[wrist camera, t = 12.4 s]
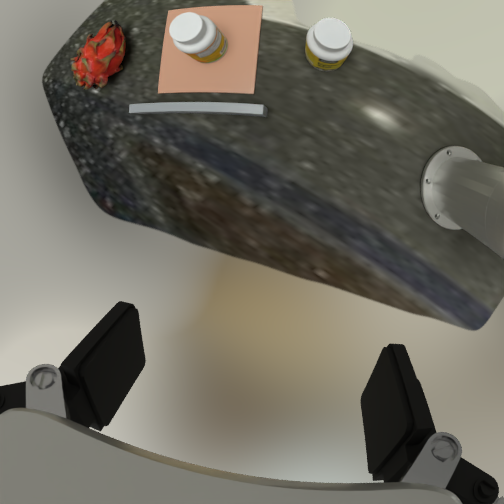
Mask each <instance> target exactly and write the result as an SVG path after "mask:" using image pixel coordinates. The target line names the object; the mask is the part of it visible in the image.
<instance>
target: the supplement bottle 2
mask: <svg viewBox="0 0 504 504" xmlns="http://www.w3.org/2000/svg"><path fill="white" fill-rule="evenodd" d="M352 47H353V39H352V36H351V31H350V29H349V27H348V26H347V25H346V24H345V23H344V22H342V21H341V20H339V19H336V18H324V19H322V20H320V21H318V22H317V23H315V24H314V25H313V26H311V28H310V29H309V31H308V33H307V37H306V47H305V55H306V58H307V60H308V62H309V63H310V64H311V65H312V66H313V67H314V68H316V69H318V70H321V71H333V70H336V69H338V68H339V67H340V66H341V65H342V64H343V62H344V61H345V60H346V58H347V57H348V55H349V54H350V52H351V50H352Z"/></svg>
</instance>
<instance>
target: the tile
mask: <svg viewBox="0 0 504 504" xmlns="http://www.w3.org/2000/svg"><path fill="white" fill-rule="evenodd" d="M262 10H263V6H256V5H234V6H210V7H196V8H186V9H177V10H169V11H168V17H167V23H166V29H165V36H164V43H163V51H162V59H161V67H160V76H159V86H158V93H159V94H162V93H241V94H254V91H255V80H256V70H257V59H258V49H259V39H260V29H261V19H262ZM186 12H193V13H196V14H198V15H202V16H205V17H208V18H209V19H210V20H212V21H213V23H214V24H215V25H216V26H217V27H218V28H219V30H220V31H221V32H222V33H223V34H224V36H225V37H226V39H227V42H228V48H227V51H226V53H225V54H224V56H223V57H222V58H221V59H219V60H218V61H216V62H213V63H201V62H198V61H196V60H195V59H193V58H191V57H190V56H188V55H187V54H185V53H183V52H182V51H180V50H179V49H178V48H177V47H176V46H175V44H174V42H173V38H172V37H171V35H170V33H169V27H170V24H171V22H172V21H173V20H174V19H175V18H176V17H177V16H178V15H180V14H182V13H186Z"/></svg>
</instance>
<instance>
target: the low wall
mask: <svg viewBox="0 0 504 504" xmlns="http://www.w3.org/2000/svg"><path fill="white" fill-rule="evenodd" d="M267 111H268V108H266V107H265V106H264V105H258V104H243V103H221V102H166V103H144V104H130V107H129V113H139V114H160V113H205V114H231V115H248V116H261V117H267Z"/></svg>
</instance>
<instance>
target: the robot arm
mask: <svg viewBox="0 0 504 504" xmlns="http://www.w3.org/2000/svg"><path fill="white" fill-rule="evenodd" d="M447 152H448V154H447ZM426 179H427V181H426ZM421 198H422V201H423V205H424V207H425V209H426V212H427V213H428V214H429V216H430V217H431V218H432V219H433V220H434V221H435V222H436V223H437V224H439V225H440V226H442V227H444V228H446V229H451V230H459V229H464V230H465V231H467V232H468V233H470V234H471V235H472V236H474V237H475V238H477V239H478V240H479V241H481V242H482V243H483V244H485V245H486V246H487V247H489V248H490V249H491V250H493V251H494V252H495V253H496V254H498V255H499V256H500V257H502V258H503V259H504V167H500V166H496V165H492V164H488V163H484V162H482V161H481V159H480V158H479V157H478V156H477V155H476V154H475V153H474V152H472V151H471V150H469V149H467V148H465V147H460V146H448V147H445V148H442V149H440V150H439V151H437V152H436V153H435V154H434V155H433V156H432V157H431V158H430V159H429V161H428V162H427V164H426V166H425V168H424V171H423V174H422V178H421ZM435 215H436V216H435ZM144 366H145V354H144V347H143V341H142V335H141V328H140V321H139V313H138V310H137V309H136V308H135V306H134V305H133V304H130V303H126V302H122V301H120V302H118V303H117V304H116V305H115V306H114V307H113V308H112V309H111V310H110V311H109V312H108V313H107V314H106V315H105V316H104V317H103V318H102V320H101V321H100V322H99V323H98V324H97V325H96V326H95V327H94V328H93V329H92V330H91V331H90V332H89V334H88V335H87V336H86V337H85V338H84V339H83V340H82V341H81V342H80V343H79V344H78V345H77V346H76V347H75V349H74V350H73V351H72V352H71V353H70V354H69V355H68V356H67V357H66V359H65V360H64V361H63V362H62V363H61V366H60V367H59V368H57V367H55V366H54V365H50V364H42V365H38V366H36V367H34V368H33V369H31V370H30V371H29V373H28V375H27V377H26V381H25V382H20V383H15V384H10V385H4V386H0V504H504V498H503V497H501V498H499V497H498V493H499V487H498V484H497V482H496V480H495V479H494V478H493V477H492V476H490V475H489V474H487V473H485V472H483V471H482V470H481V469H479V468H477V467H476V466H474V465H472V464H471V463H469V462H468V461H466V460H465V459H463V458H461V454H462V447H461V444H460V442H459V441H458V439H457V438H456V437H455V436H453V435H451V434H449V433H446V432H438V433H436V430H435V426H434V423H433V420H432V417H431V413H430V410H429V407H428V404H427V401H426V398H425V395H424V392H423V389H422V387H421V384H420V382H419V380H418V379H417V378H416V375H415V372H414V370H413V366H412V364H411V361H410V358H409V356H408V353H407V350H406V348H405V346H404V345H403V344H389V345H388V346H387V347H384V348H383V349H382V352H381V354H380V356H379V359H378V361H377V364H376V366H375V368H374V370H373V372H372V374H371V377H370V379H369V381H368V383H367V385H366V387H365V389H364V391H363V393H362V396H361V409H362V417H363V425H364V433H365V441H366V452H367V462H368V471H369V473H371V474H372V475H373V481H377V480H384V483H316V482H300V481H288V480H278V479H269V478H262V477H255V476H248V475H243V474H237V473H231V472H226V471H221V470H216V469H211V468H207V467H203V466H199V465H195V464H191V463H187V462H183V461H179V460H176V459H172V458H169V457H166V456H162V455H159V454H156V453H153V452H149V451H147V450H143V449H141V448H138V447H135V446H132V445H129V444H127V443H124V442H121V441H119V440H116V439H114V438H111V437H108V436H106V435H103V434H101V433H99V432H96V431H94V430H92V429H89V427H92V428H94V429H96V430H99V431H101V430H102V429H103V427H104V426H107V425H109V423H110V422H111V420H112V418H113V417H114V415H115V414H116V412H117V410H118V409H119V407H120V405H121V404H122V402H123V400H124V399H125V397H126V395H127V394H128V392H129V391H130V389H131V387H132V386H133V384H134V382H135V380H136V379H137V378H138V376H139V374H140V373H141V371H142V370H143V368H144Z"/></svg>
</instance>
